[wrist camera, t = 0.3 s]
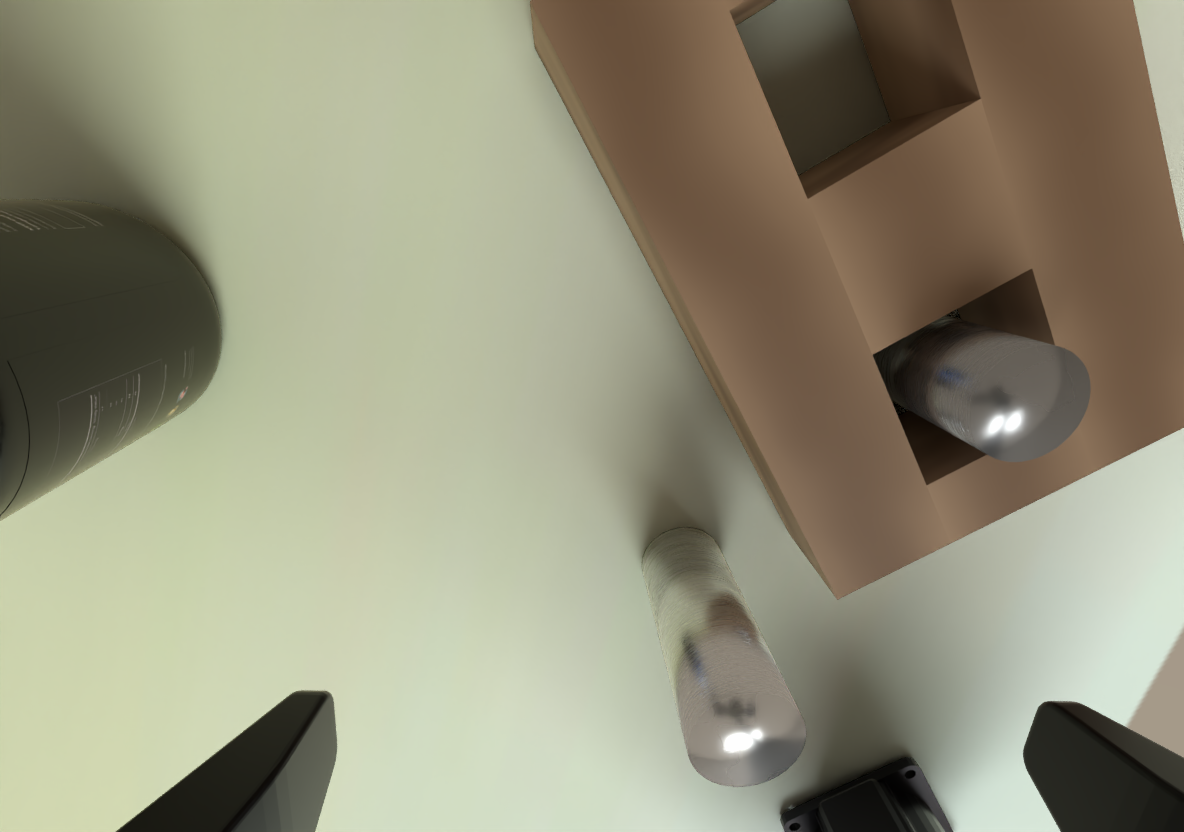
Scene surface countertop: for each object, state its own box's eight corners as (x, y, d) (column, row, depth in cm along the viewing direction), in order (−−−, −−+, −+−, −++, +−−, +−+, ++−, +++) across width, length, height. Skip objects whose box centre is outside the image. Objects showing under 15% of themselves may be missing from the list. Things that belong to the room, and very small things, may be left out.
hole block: (935, -212, 15) (1060, -348, 12) (1099, 373, 21) (1219, 410, 17) (535, 48, 17) (529, 1, 13) (789, 533, 22) (837, 599, 19)
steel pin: (734, 574, 23) (824, 754, 15) (664, 609, 23) (719, 803, 16) (699, 513, 22) (777, 674, 14) (627, 551, 22) (666, 728, 15)
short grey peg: (952, 365, 21) (1103, 425, 15) (871, 408, 21) (989, 482, 15) (924, 288, 20) (1073, 321, 14) (840, 334, 20) (953, 384, 14)
